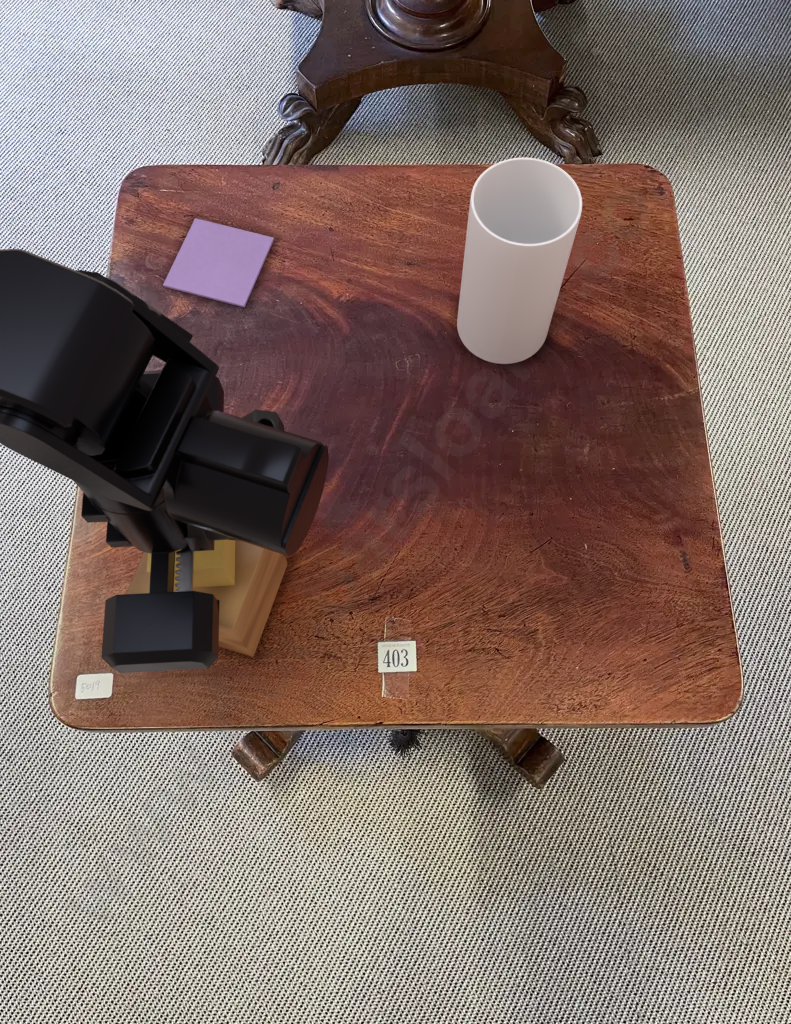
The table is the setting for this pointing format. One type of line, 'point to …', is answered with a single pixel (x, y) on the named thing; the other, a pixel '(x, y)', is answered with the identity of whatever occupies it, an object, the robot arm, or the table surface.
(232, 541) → the cheese
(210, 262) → the towel
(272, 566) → the stand
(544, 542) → the table surface
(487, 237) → the cup
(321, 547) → the table surface
